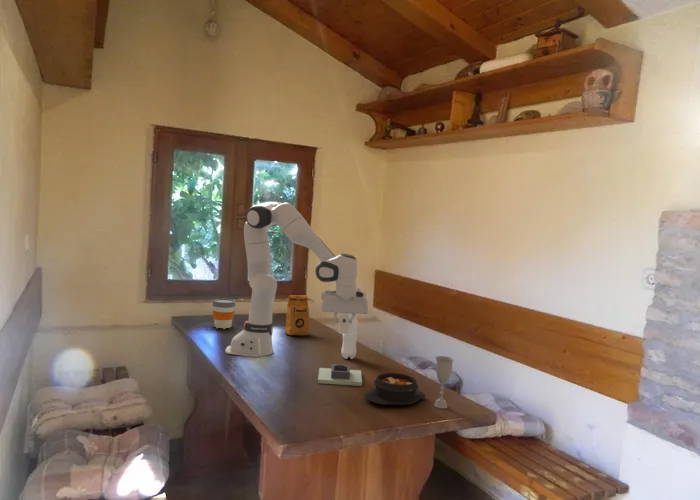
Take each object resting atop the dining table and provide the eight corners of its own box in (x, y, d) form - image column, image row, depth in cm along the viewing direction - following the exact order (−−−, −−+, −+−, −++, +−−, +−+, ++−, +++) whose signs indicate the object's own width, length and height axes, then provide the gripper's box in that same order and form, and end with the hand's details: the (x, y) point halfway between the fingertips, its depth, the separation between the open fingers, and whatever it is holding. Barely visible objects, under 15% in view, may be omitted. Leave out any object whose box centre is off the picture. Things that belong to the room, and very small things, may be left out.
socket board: (317, 383, 219) (318, 372, 219) (319, 371, 235) (319, 361, 235) (362, 385, 220) (362, 375, 219) (360, 373, 236) (361, 363, 235)
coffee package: (309, 336, 296) (312, 296, 294) (287, 336, 292) (289, 296, 290) (305, 332, 305) (308, 293, 304) (284, 332, 301) (286, 293, 300)
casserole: (384, 414, 191) (386, 391, 190) (353, 397, 206) (355, 375, 205) (435, 403, 206) (437, 381, 205) (403, 388, 221) (405, 368, 220)
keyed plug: (338, 334, 231) (340, 314, 230) (338, 330, 240) (339, 309, 239) (348, 335, 231) (349, 314, 230) (347, 330, 240) (348, 310, 239)
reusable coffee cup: (209, 324, 307) (210, 298, 306) (231, 324, 312) (232, 298, 311) (213, 330, 295) (215, 302, 294) (236, 329, 301) (238, 302, 300)
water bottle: (354, 360, 255) (358, 308, 253) (339, 358, 257) (343, 306, 255) (357, 356, 262) (360, 305, 260) (342, 355, 264) (346, 304, 262)
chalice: (429, 401, 207) (433, 355, 205) (447, 402, 207) (451, 356, 206) (434, 409, 199) (438, 361, 198) (452, 409, 200) (456, 362, 199)
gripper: (321, 291, 231) (319, 323, 232) (369, 294, 232) (367, 325, 233) (321, 289, 237) (320, 320, 238) (368, 291, 238) (366, 322, 239)
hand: (343, 323), depth 236 cm, fingers closed on keyed plug, 4 cm apart
